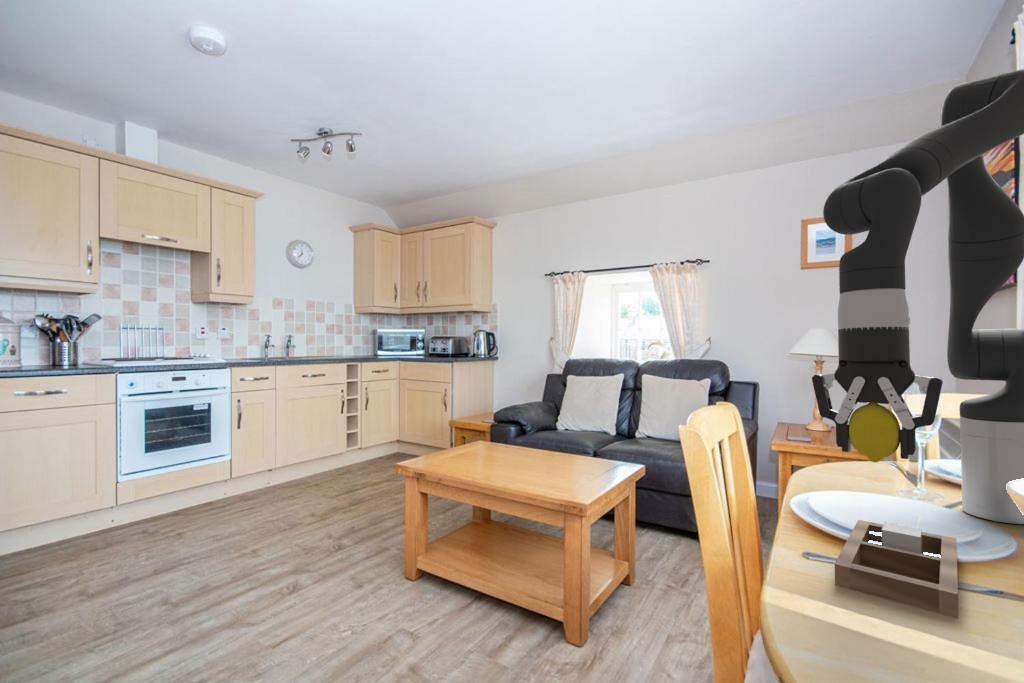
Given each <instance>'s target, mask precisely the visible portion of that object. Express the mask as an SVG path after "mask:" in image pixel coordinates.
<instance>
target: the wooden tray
mask: <svg viewBox="0 0 1024 683" xmlns="http://www.w3.org/2000/svg"><path fill="white" fill-rule="evenodd" d="M883 525H884V524H882V523H877V522H873V521H872V522H871V521H867V520H862V519H857V521H856V523H855V524H854V526H853V529H852V531H851V532H850V533H849V536H848V538H847V540H846V542H845V544H844V545H843V548H842V549H841V551H840V553H839V555H838V557H837V558H836V560H835V562H834V586H838V587H840V588H841V587H842V588H844V589H845V588H846V589H848V590H852V591H856V592H860V593H863V594H867V595H871V596H874V597H879V598H881V599H886V600H889V601H893V602H897V603H899V604H903V605H907V606H910V607H915V608H917V609H922V610H926V611H929V612H932V613H933V612H934V613H936V614H940V615H943V616H948V617H951V618H955V619H959V585H958V583H959V582H958V548H957V546H958V545H957V543H958V542H957V538H956V537H952V536H946V535H940V534H935V533H930V532H926V531H925V532H924V531H922V550H923V552H928V553H933V554H940V555H941V558H939V557H934V556H929V555H924V554H920V553H915V552H910V551H906V550H901V549H896V548H892V547H887V546H882V545H878V544H873V543H868V541H869V540H873V541H878V542H882V537H881V536H875V535H873V534H869V531H874V532H882V528H883Z"/></svg>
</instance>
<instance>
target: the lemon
mask: <svg viewBox="0 0 1024 683" xmlns="http://www.w3.org/2000/svg"><path fill="white" fill-rule="evenodd" d="M898 420H899V419H898V417H897V415H896V414H895V413H893V412H892V410H890V409H889V408H887V407H886V406H883V405H882V404H880V403H876V402H867V403H866V404H863V405H861V406H859V407H858V408H857V409H854V410H853V412H852V414H851V416H850V418H849V420H848V423H849V426H848V433H849V439H850V441H851V446H852V447H853V449H855V450H856V451H857V452H858V453H860V454H861V455H863V456H865V457H867V459H869V461H870V462H872V463H879V462H880V461H881V460H882V459H884V458H888V457H890V456H891V455H893V454H895V452H897V450H898V449H899V447H900V429H901V426H900V423H899V422H900V421H898Z"/></svg>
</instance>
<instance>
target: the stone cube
mask: <svg viewBox="0 0 1024 683" xmlns="http://www.w3.org/2000/svg"><path fill="white" fill-rule="evenodd" d="M922 532H923V528H922V527H916V526H909V525H905V524H899V523H894V522H889V521H884V524H883V528H882V546H887V547H892V548H896V549H901V550H906V551H910V552H915V553H920V554H923V550H922Z"/></svg>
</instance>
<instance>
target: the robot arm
mask: <svg viewBox="0 0 1024 683" xmlns="http://www.w3.org/2000/svg"><path fill="white" fill-rule="evenodd" d="M941 105H942V106H941V112H940V123H939V124H940V126H939V127H937V128H934V129H932V130H931V129H930V131H927V132H925V133H924V134H921V135H919V136H918V137H916V138H914V139H912V140H910V141H909V142H908V143H906V144H905V145H903V146H902V147H900V148H899V149H898V150H896V151H894V152H893V153H892V154H891V155H890V156H888V157H887V158H886V159H884V160H883V161H882V162H880V163H878V164H876V165H875V166H873V167H871V168H869V169H866V170H865V171H862V173H859V174H857V175H855V176H854V177H852V178H850V179H848V180H846V181H845V182H843V183H841V184H840V185H839V186H837V187H836V188H835V189H834V190H833V191H831V193H830V194H829V195H828V196H827V198H826V200H825V203H824V205H823V211H822V216H823V220H824V222H825V224H826V226H827V227H828V228H829V229H830V230H831V231H833V232H835V233H836V234H840V235H858V234H862V233H865V232H868V233H867V236H866V238H865V239H864V241H862V243H861V244H859V245H858V246H856V247H853V248H852V249H849V250H848V251H846V252H844V254H842V255H841V256H840V259H839V264H838V266H839V269H838V270H839V273H838V276H839V277H838V279H839V285H838V286H839V298H838V299H839V300H838V307H837V339H838V342H837V344H838V345H837V346H838V348H837V349H838V366H837V368H836V370H835V372H834V373H828V374H821V373H820V374H814V375H813V376H812V377H811V382H812V386H813V389H814V394H815V400H816V403H817V408H818V411H819V415H820V416H821V418H824V419H825V418H826V419H828V420H831V421H833V423H834V424H835V436H836V437H835V443H836V445H837V447H838V448H841V451H842V452H844V453H849V452H850V451H851V449H852V447H851V446H852V444H851V441H850V439H849V433H848V426H849V421H850V418H851V415H852V414H853V412H854V411H855V408H856V407H857V406H858V403H863V404H865V403H866V404H868V403H869V402H876V403H878V404H879V405H890V407H891V409H892V410H893V412H894V414H895V416H896V418H897V419H898V420H899V422H900V424H901V427H900V445H899V447H900V449H899V450H900V459H903V460H909V458H910V456H913V455H914V454H915V452H916V450H917V445H916V444H917V441H916V430H917V429H919V428H921V427H928V426H932V425H933V424H934V422H935V421H936V420H935V418H936V415H937V410H938V407H939V401H940V396H941V393H942V392H941V391H942V387H943V384H944V383H943V379H942V378H940V377H937V376H934V377H929V376H924V375H923V376H922V375H917V374H916V373H915V372H914V370H913V369H912V367H911V358H910V357H911V356H910V353H911V351H910V350H911V349H910V323H911V317H910V315H909V314H910V312H909V302H908V298H907V297H908V296H907V292H906V291H907V290H906V256H907V254H908V250H909V247H910V245H911V244H910V243H911V239H912V236H913V233H914V229H915V226H916V224H917V223H916V222H917V220H918V217H919V213H920V211H921V205H922V197H923V196H924V195H926V194H928V193H929V192H930V191H932V190H933V189H935V187H937V186H939V185H940V184H941V183H942V182H943V181H944V180H946V183H947V184H946V186H947V210H948V212H947V214H948V216H947V217H948V218H947V219H948V220H947V222H948V223H947V261H948V277H949V279H948V280H949V294H950V295H949V298H950V299H949V318H948V321H949V322H948V334H947V335H948V336H947V351H946V352H947V353H946V354H947V355H946V356H947V357H946V358H947V365H948V370H949V372H950V373H951V375H952V376H953V377H954V378H956V379H958V380H967V381H1001V382H1002V381H1005V385H1004V386H1003V387H1002V388H1001V389H999V390H997V391H995V392H992V393H989V394H987V395H983V396H979V397H974V398H969V399H965V400H963V401H961V402H960V404H959V429H960V430H959V432H960V435H959V436H960V465H961V466H960V467H961V468H960V470H961V471H960V472H961V474H960V475H961V507H962V508H961V509H962V511H963V512H965V513H966V514H968V515H971V516H974V517H977V518H981V519H984V520H989V521H994V522H999V523H1005V524H1015V525H1024V515H1022V513H1021V512H1020V510H1019V509H1018V507H1017V506H1016V504H1015V503H1014V502H1013V500H1012V499H1011V498H1010V496H1009V495H1008V493H1007V490H1006V484H1007V483H1008V482H1009V481H1012V480H1016V479H1021V478H1024V329H1022V328H991V329H990V328H985V329H983V328H981V329H973V328H974V325H975V323H976V321H977V318H978V316H979V314H980V313H981V311H982V310H983V308H985V305H986V304H987V303H988V301H989V300H991V299H992V297H993V296H994V295H995V294H996V293H997V292H998V290H1000V289H1002V287H1003V286H1004V284H1005V283H1007V282H1008V281H1009V280H1010V279H1011V277H1012V276H1013V275H1014V274H1015V273H1016V271H1017V270H1018V269H1019V268H1020V266H1021V264H1022V263H1023V261H1024V213H1023V212H1022V210H1021V208H1020V207H1019V206H1018V204H1017V203H1016V201H1015V200H1014V199H1013V198H1012V197H1010V195H1009V194H1008V193H1007V192H1006V191H1005V190H1004V188H1002V187H1001V185H999V184H998V183H997V181H996V180H995V178H993V176H992V175H991V173H990V172H989V170H988V168H987V166H986V164H985V160H984V156H983V155H984V154H987V153H989V152H991V151H992V150H994V149H996V148H999V147H1001V146H1002V145H1003V144H1006V143H1008V142H1009V141H1013V140H1014V139H1016V138H1019V137H1020V136H1023V135H1024V68H1022V69H1015V70H1011V71H1007V72H1003V73H998V74H995V75H991V76H988V77H987V76H986V77H983V78H978V79H974V80H971V81H967V82H963V83H960V84H957V85H955V86H953V87H951V89H950V90H949V91H948V92H947V94H946V95H945V97H944V99H943V103H942V104H941ZM835 381H836V382H837V383H838V384H839V386H840V387H841V388H842V389H843V390H844V392H846V394H845V397H844V398H843V400H842V402H841V405H840V407H839V409H838V411H837V410H835V409H833V404H832V400H831V396H830V392H829V390H831V389H832V388H833V386H834V385H833V384H834V382H835ZM914 383H915V384H916V385H917V386H918V390H919V392H921V393H922V394H925V399H924V403H923V408H922V412H921V415H918V416H917V415H916V416H913V414H912V412H911V411H910V409H909V407H908V404H907V402H906V401H905V399H904V398H903V394H905V392H906V391H907V390H908V389H909V388H910V387H911V386H912V385H913V384H914Z"/></svg>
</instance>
